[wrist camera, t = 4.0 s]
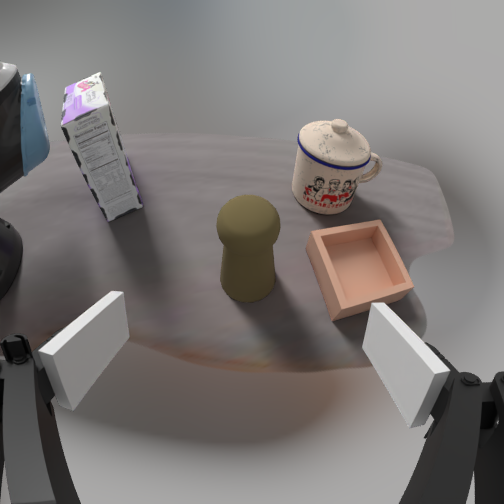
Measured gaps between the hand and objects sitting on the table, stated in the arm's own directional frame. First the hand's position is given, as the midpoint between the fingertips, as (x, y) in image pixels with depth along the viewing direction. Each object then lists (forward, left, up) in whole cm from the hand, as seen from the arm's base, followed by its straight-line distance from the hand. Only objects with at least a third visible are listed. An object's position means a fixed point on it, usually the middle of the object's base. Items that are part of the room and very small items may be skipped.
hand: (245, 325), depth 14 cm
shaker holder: (+14, +7, -14) cm, 21 cm away
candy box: (-14, +29, -14) cm, 35 cm away
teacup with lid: (+17, +20, -14) cm, 30 cm away
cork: (+2, +10, -14) cm, 17 cm away
